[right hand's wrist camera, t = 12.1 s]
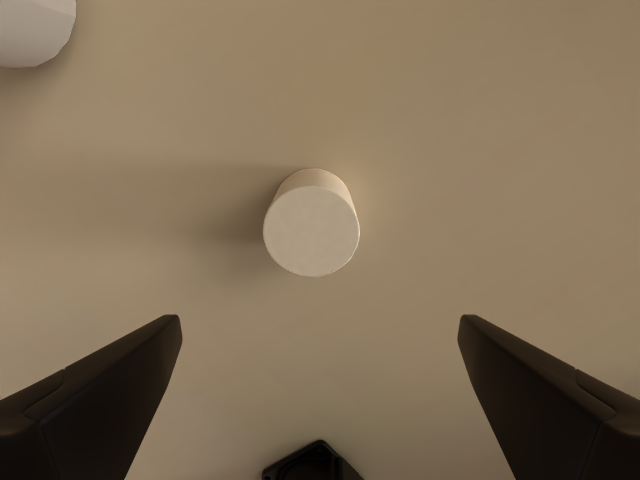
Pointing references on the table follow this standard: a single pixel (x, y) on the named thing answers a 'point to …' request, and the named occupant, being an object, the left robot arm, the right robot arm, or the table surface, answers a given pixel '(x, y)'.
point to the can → (34, 30)
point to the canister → (311, 224)
